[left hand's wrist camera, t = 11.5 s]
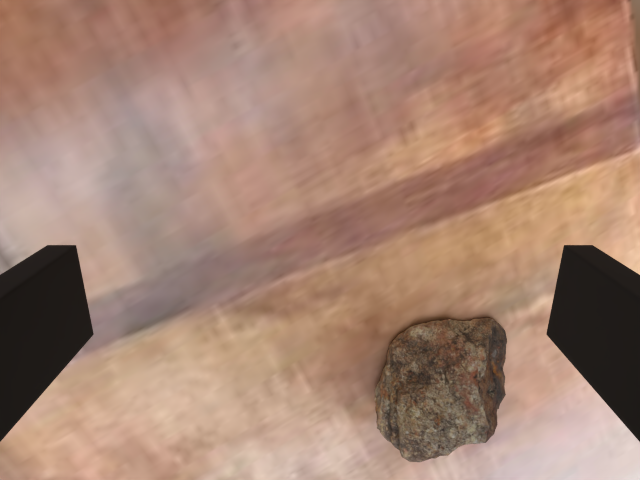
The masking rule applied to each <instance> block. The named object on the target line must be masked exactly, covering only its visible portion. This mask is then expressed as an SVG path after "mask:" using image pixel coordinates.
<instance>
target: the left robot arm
mask: <svg viewBox="0 0 640 480" xmlns="http://www.w3.org/2000/svg"><path fill="white" fill-rule="evenodd" d="M92 335H93V329H92V324H91V319H90V314H89V309H88V304H87V299H86V294H85V289H84V284H83V279H82V274H81V269H80V263H79V258H78V253H77V248H76V245H47V246H46V247H44V248H42V249H41V250H39V251H38V252H36V253H34V254H33V255H31V256H30V257H28V258H27V259H25V260H23V261H22V262H20V263H19V264H17V265H15V266H14V267H12V268H11V269H9V270H8V271H6V272H4V273H3V274H1V275H0V441H1V440H2V439H3V438H4V437H5V436H6V434H7V433H8V432H9V431H10V430H11V429H12V428H13V426H14V425H15V424H16V423H17V422H18V421H19V420H20V418H21V417H22V416H23V415H24V414H25V413H26V411H27V410H28V409H29V408H30V407H31V406H32V405H33V403H34V402H35V401H36V400H37V399H38V398H39V396H40V395H41V394H42V393H43V392H44V391H45V390H46V388H47V387H48V386H49V385H50V384H51V383H52V381H53V380H54V379H55V378H56V377H57V376H58V375H59V373H60V372H61V371H62V370H63V369H64V368H65V367H66V365H67V364H68V363H69V362H70V361H71V360H72V358H73V357H74V356H75V355H76V354H77V353H78V352H79V350H80V349H81V348H82V347H83V346H84V345H85V343H86V342H87V341H88V340H89V339H90V338H91V337H92ZM547 335H548V337H549V338H550V339H551V340H552V341H553V342H554V343H555V345H556V346H557V347H558V348H559V349H560V350H561V352H562V353H563V354H564V355H565V356H566V357H567V358H568V360H569V361H570V362H571V363H572V364H573V365H574V367H575V368H576V369H577V370H578V371H579V372H580V373H581V375H582V376H583V377H584V378H585V379H586V380H587V381H588V383H589V384H590V385H591V386H592V387H593V388H594V390H595V391H596V392H597V393H598V394H599V395H600V396H601V398H602V399H603V400H604V401H605V402H606V403H607V405H608V406H609V407H610V408H611V409H612V410H613V411H614V413H615V414H616V415H617V416H618V417H619V418H620V420H621V421H622V422H623V423H624V424H625V425H626V426H627V428H628V429H629V430H630V431H631V432H632V433H633V434H634V436H635V437H636V438H637V439H638V440H639V441H640V275H639V274H637V273H636V272H634V271H632V270H631V269H629V268H628V267H626V266H625V265H623V264H621V263H620V262H618V261H617V260H615V259H613V258H612V257H610V256H609V255H607V254H606V253H604V252H602V251H601V250H599V249H598V248H596V247H594V246H593V245H564V248H563V253H562V258H561V263H560V269H559V274H558V279H557V284H556V289H555V294H554V299H553V304H552V309H551V314H550V319H549V324H548V329H547Z"/></svg>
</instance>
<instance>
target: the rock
mask: <svg viewBox="0 0 640 480" xmlns="http://www.w3.org/2000/svg"><path fill="white" fill-rule="evenodd" d="M506 343H507V339H506V334H505V331H504V329H503V328H502V327H501V326H500V325H499V324H498V323H497V322H496V321H495V320H494V319H491V318H488V317H487V318H480V319H472V320H471V321H459V320H452V319H448V320H442V321H439V320H437V321H430V322H428V323H422V324H418V325H415V326H412V327H410V328H408V329H407V330H406V331H404V332H402V333H400V334H399V335H398V336H397V337H396V338H395V339H394V340H393V342H392V343H391V344H390V346H389V349H388V352H387V362H386V365H385V367H384V369H383V371H382V375H381V378H380V381H379V383H378V384H377V387H376V388H375V399H374V400H375V403H376V413H377V428H378V429H379V430H380V432H381V434H382V435H383V436H384V437H385V438H386V439H387V440H388V441H389V442H391V443H392V444H393V445H394V446H395V447H396V448H397V449H399V450H400V453H401V456H402V457H403V458H405V459H406V460H408V461H410V462H422V461H425V460H428V459H431V458H437V457H439V456H444V455H449V454H450V453H451V452H452V451H454V450H455V449H456V448H458V447H460V446H462V445H466V444H478V443H486V442H487V441H488V440H489V438H490V437H491V436H492V435H494V432H495V429H496V426H497V409H499V405H500V403H501V401H502V400H503V398H504V396H505V395H506V394H505V389H504V383H505V376H504V372H503V365H504V362H505V354H506Z"/></svg>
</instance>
